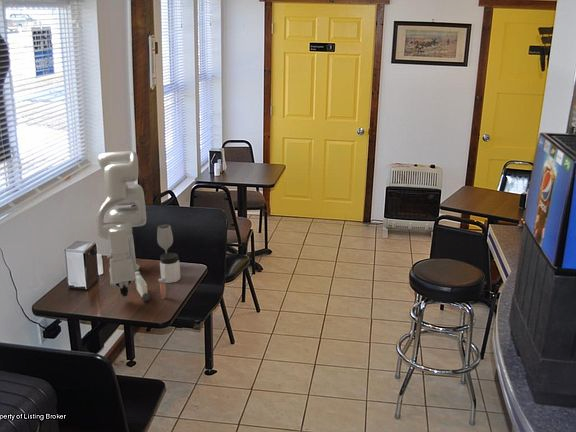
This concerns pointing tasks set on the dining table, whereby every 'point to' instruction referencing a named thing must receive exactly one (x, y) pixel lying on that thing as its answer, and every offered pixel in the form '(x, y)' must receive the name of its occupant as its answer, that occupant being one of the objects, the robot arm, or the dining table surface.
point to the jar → (170, 267)
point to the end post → (162, 288)
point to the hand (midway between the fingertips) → (124, 295)
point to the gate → (141, 286)
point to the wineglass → (164, 236)
